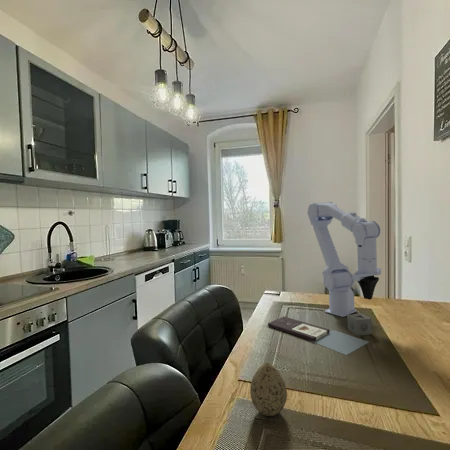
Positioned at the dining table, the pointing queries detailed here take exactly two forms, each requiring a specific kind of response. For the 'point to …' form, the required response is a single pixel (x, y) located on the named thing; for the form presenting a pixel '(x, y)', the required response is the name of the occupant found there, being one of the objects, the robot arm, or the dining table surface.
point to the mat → (340, 342)
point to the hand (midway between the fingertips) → (367, 298)
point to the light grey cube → (359, 324)
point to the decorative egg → (268, 390)
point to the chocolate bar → (299, 328)
